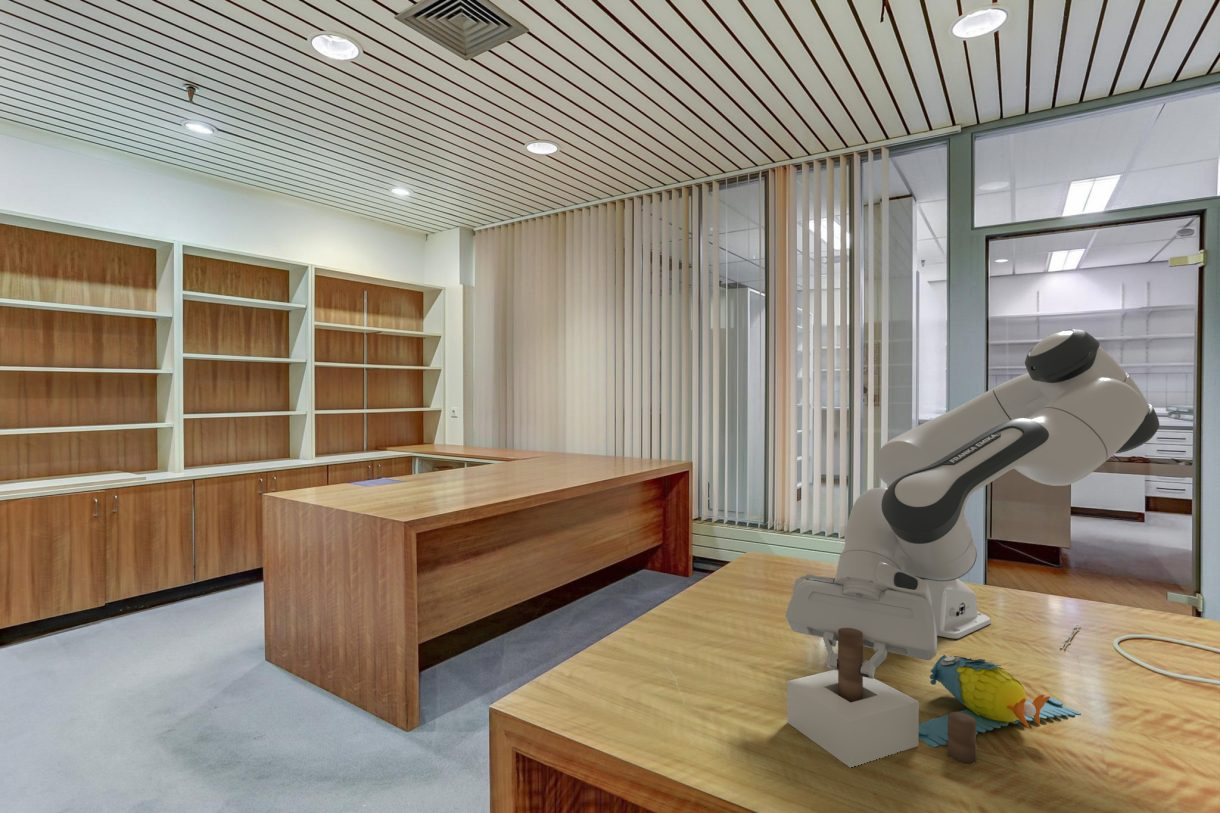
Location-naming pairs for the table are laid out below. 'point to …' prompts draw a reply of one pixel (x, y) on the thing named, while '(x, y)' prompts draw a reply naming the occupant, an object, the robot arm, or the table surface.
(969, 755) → the short pin
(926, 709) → the table surface
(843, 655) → the long pin
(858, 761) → the hole block
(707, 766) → the table surface
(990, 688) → the blue yellow bird figure
